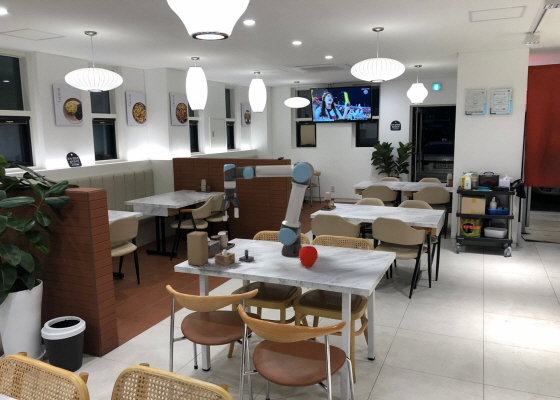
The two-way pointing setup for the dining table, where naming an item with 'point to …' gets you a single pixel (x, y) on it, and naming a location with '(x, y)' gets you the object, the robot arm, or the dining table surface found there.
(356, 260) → the dining table surface
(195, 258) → the wooden block
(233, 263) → the hub
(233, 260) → the collar
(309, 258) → the apple
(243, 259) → the stand
